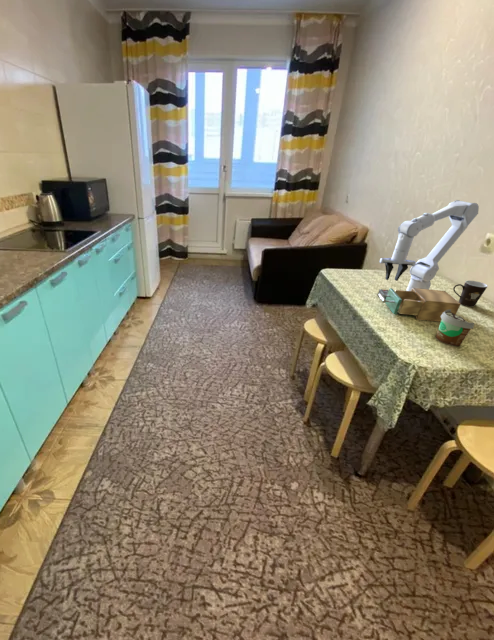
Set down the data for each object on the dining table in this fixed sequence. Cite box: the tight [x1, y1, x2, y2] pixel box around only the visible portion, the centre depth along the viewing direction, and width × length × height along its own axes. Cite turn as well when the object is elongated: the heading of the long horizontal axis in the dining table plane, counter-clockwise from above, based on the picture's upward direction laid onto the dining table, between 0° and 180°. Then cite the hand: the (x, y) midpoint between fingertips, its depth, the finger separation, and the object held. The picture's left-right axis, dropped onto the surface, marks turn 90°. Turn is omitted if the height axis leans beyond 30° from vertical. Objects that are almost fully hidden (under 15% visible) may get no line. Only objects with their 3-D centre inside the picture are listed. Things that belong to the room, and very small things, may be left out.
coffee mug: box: [452, 280, 489, 308], centre depth 154 cm, size 12×9×10 cm
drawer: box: [377, 287, 424, 316], centre depth 143 cm, size 17×13×7 cm
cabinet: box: [411, 288, 462, 323], centre depth 141 cm, size 14×15×9 cm
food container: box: [435, 309, 475, 347], centre depth 121 cm, size 12×6×10 cm, turn 5°
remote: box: [377, 288, 389, 300], centre depth 156 cm, size 4×10×3 cm, turn 170°
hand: (391, 279), depth 152 cm, fingers open, 3 cm apart
